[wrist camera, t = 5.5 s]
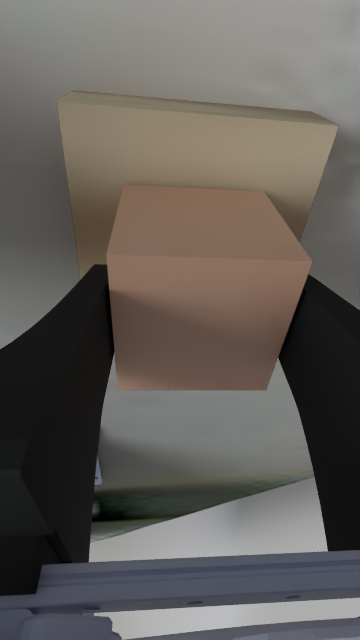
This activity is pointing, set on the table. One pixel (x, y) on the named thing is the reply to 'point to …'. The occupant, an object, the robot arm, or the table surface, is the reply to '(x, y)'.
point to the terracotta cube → (200, 288)
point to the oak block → (184, 156)
